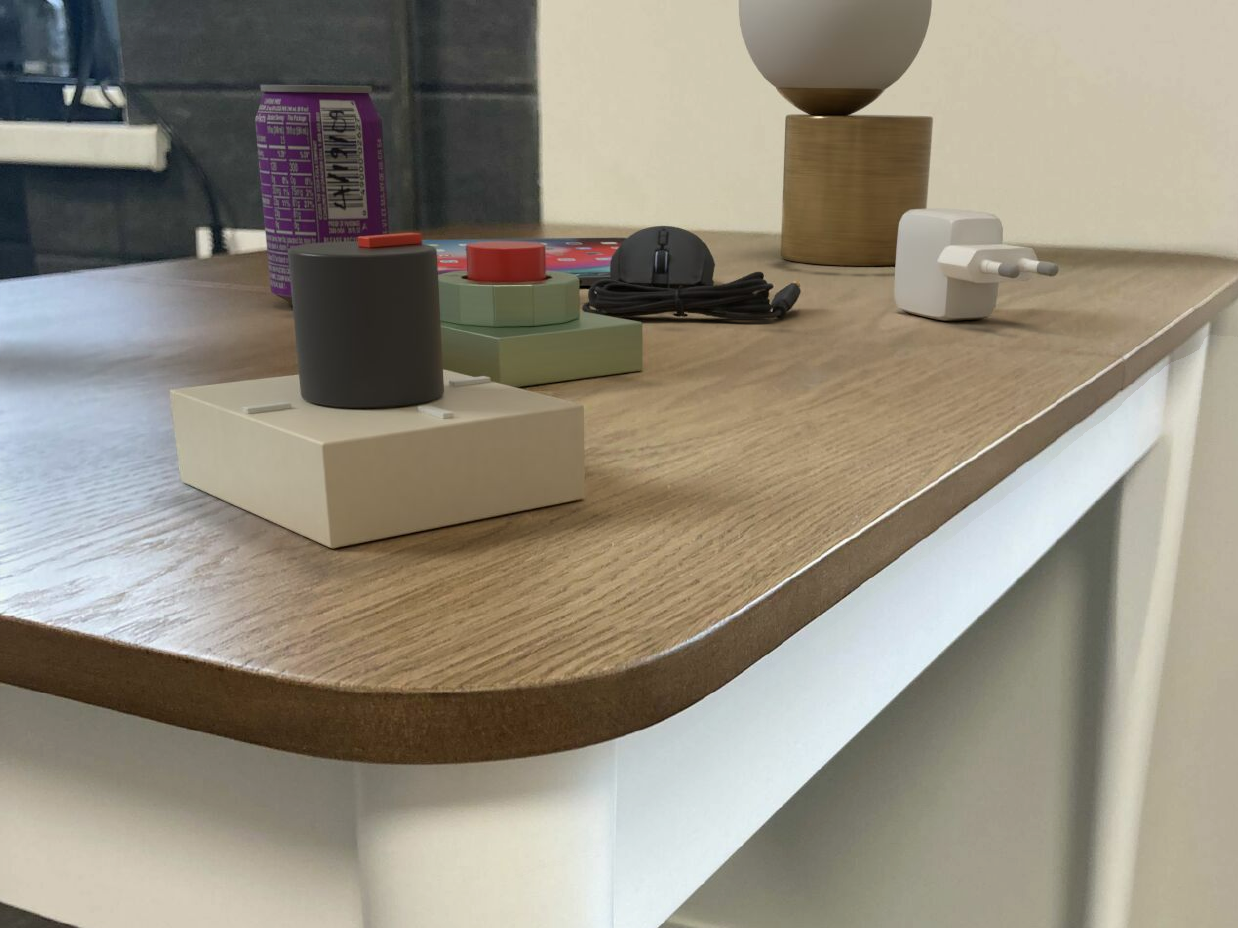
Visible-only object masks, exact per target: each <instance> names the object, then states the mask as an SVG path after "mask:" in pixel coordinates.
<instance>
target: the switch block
mask: <svg viewBox="0 0 1238 928" xmlns="http://www.w3.org/2000/svg"><path fill="white" fill-rule="evenodd" d="M438 284H439V303H440V322H441V342H442V361H443V369H444V370H448V371H452V372H456V373H460V374H464V375H468V376H472V377H480V376H486V377H490V381H492V382H496V383H500V384H504V385H508V386H512V387H516V388H524V387H532V386H538V385H545V384H552V383H553V384H554V383H560V382H561V383H562V382H568V381H575V380H582V379H591V378H598V377H605V376H611V375H613V376H614V375H619V374H627V373H628V374H629V373H633V372H634V373H635V372H641V371H643V322H642V321H637V320H633V319H632V320H631V319H627V318H622V317H610V316H605V315H599V314H594V313H588V312H584V311H583V310H581V304H580V303H581V302H580V301H581V300H580V299H581V298H580V296H581V295H580V286H579V278H578V277H576V276H575V275H574V274H570V273H563V272H557V271H548V270H546V280H542V281H530V282H484V281H473V280H468V277H467V271H454V272H448V273H444V274H439V275H438Z"/></svg>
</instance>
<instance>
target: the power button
mask: <svg viewBox="0 0 1238 928" xmlns="http://www.w3.org/2000/svg"><path fill="white" fill-rule="evenodd" d="M466 255H467V277H468V280H473V281H484V282H530V281H542V280H546V251H545V245H544V244H541V243H535V242H523V241H487V242H475V243H469V244H467V245H466Z"/></svg>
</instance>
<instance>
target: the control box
mask: <svg viewBox="0 0 1238 928" xmlns="http://www.w3.org/2000/svg"><path fill="white" fill-rule="evenodd" d="M443 380H444V393H443V395H442V396H441V397H439V398H437V399H434V400H431V401H428V402H424V403H419V404H413V405H406V406H397V407H383V408H346V407H333V406H325V405H319V404H315V403H312V402H309V401H306V400H304V399H303V398H302V396H301V391H300V380H299V374H291V375H283V376H282V375H281V376H275V377H273V376H272V377H266V378H257V379H248V380H239V381H232V382H231V381H230V382H223V383H215V384H206V385H198V386H197V385H196V386H190V387H189V386H188V387H180V388H173V389H169V399H170V406H171V414H172V415H171V416H172V422H173V423H172V424H173V430H174V438H175V446H176V454H177V462H178V468H179V477H180V482H181V483H184V484H186V485H188V486H190V487H193V488H194V489H197V490H199V491H202V492H204V493H206V494H208V495H211V496H213V497H215V498H217V499H219V500H222V501H224V502H226V503H229V504H231V505H232V506H234V507H235V506H236V507H237V508H239V509H243V510H245V511H247V512H249V513H251V514H253V515H255V516H258V517H260V518H263V519H264V520H267V521H269V522H271V523H273V524H276V525H278V526H279V527H282V528H285V529H287V530H289V531H291V532H293V533H295V534H298V535H300V536H303V537H305V538H307V539H310V540H311V541H313V542H316V543H319V544H320V545H323V546H325V547H327V548H330V549H338V548H342V547H347V546H348V547H349V546H353V545H358V544H363V543H368V542H373V541H378V540H383V539H388V538H392V537H398V536H404V535H408V534H413V533H417V532H422V531H428V530H434V529H437V528H443V527H448V526H449V527H450V526H454V525H458V524H463V523H468V522H474V521H479V520H485V519H489V518H493V517H498V516H505V515H509V514H513V513H519V512H524V511H529V510H534V509H540V508H544V507H549V506H555V505H561V504H564V503H571V502H574V501H580V500H583V499H585V498H586V474H585V473H586V468H585V467H586V466H585V465H586V464H585V463H586V462H585V460H586V459H585V458H586V457H585V413H584V412H585V407H584V404H582V403H579V402H575V401H571V400H568V399H563V398H559V397H555V396H551V395H547V394H543V393H540V392H537V391H536V392H535V391H531V390H528V389H523V388H521V387H517V388H516V387H512V386H508V385H504V384H500V383H496V382H492V381H490V377H486V376H480V377H472V376H468V375H464V374H460V373H456V372H452V371H448V370H444V369H443Z"/></svg>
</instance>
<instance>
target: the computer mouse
mask: <svg viewBox="0 0 1238 928" xmlns="http://www.w3.org/2000/svg"><path fill="white" fill-rule="evenodd" d="M626 238H627V239H626V240H624V241H623V242H622V243H621V245H620V246H619V248H618V249H617V250H616V252H615V253H614V254H613V256H612V259H611V260H610V265H611V266H610V278H611V279H610V280H609V279H602V280H599V281H597V282H595V283H594V284H592V285H590V286H589V289H588V291H587V298H588V301H587V302H584V303H583V304H582V307H581V311H583V312H588V313H594V314H599V315H605V316H610V317H616V318H628V317H641V316H642V317H643V316H650V315H658V314H664V313H672V315H673V316H674V317H683V318H687V317H689V314H697V315H698V314H699V315H704V316H707V317H709V316H710V317H713V318H719V319H729V320H769V319H779V320H780V319H783V318H784V317H785V316H786V315H787V313H788V312H789V311H790V310H791V309H793V307H794V306H795V304H796V303H797V301H798V299H799V297H800V296H801V293H802V291H801V288H800V287H801V284H800V283H799V282H798V280H794V281H793V282H790V283H789V284H787V285H786V286H785V287H783V288H782V289H780V290H779V291H777V292H776V293H775V295H774V296H773V299H772V301H771V300H770V291H771V290H773V288H774V284H773V283H768V281H767V280H766V279H764V278H765V274H764V272H762V271H754V272H752V273H749V274H747V275H745V276H742V277H741V278H738V279H736V280H732V281H730V282H727V283H722V284H715V282H714V278H713V277H714V273H715V267H716V262H715V259H714V257H713V255H712V252H711V251H710V249H709V247H708V245H707V244H706V243H705V242H704V240H702V239H701V238H700V237H699V236H698V235H697V234H695V233H693V232H691V231H689V230H687V229H684V228H681V227H678V226H673V225H672V226H671V225H655V226H650V227H645V228H642V229H640V230H637V231H635V232H633V233H632V234H630V235H629V236H628V237H626ZM591 307H592V308H594V309H592V308H591ZM675 312H676V313H675ZM687 313H688V314H687Z"/></svg>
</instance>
